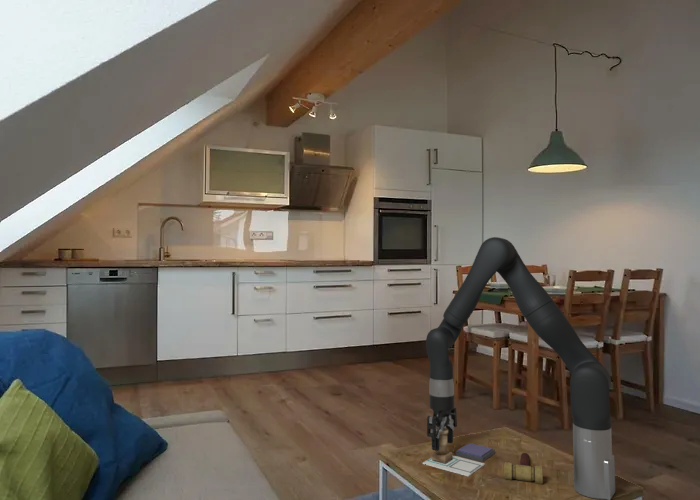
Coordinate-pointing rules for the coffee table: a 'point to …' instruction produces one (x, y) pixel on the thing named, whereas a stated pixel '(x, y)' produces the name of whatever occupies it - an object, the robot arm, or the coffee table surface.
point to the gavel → (523, 471)
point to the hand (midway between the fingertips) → (442, 446)
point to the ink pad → (475, 452)
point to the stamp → (442, 449)
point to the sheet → (457, 465)
